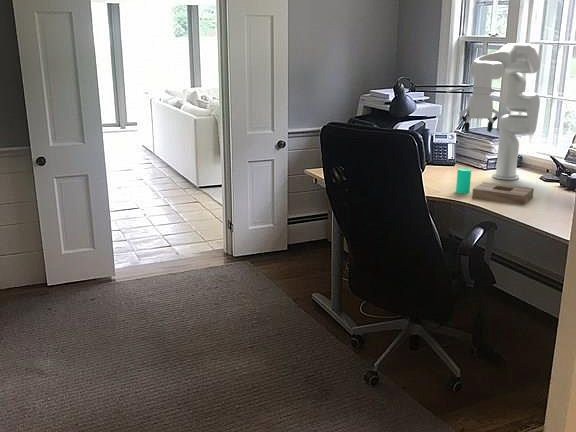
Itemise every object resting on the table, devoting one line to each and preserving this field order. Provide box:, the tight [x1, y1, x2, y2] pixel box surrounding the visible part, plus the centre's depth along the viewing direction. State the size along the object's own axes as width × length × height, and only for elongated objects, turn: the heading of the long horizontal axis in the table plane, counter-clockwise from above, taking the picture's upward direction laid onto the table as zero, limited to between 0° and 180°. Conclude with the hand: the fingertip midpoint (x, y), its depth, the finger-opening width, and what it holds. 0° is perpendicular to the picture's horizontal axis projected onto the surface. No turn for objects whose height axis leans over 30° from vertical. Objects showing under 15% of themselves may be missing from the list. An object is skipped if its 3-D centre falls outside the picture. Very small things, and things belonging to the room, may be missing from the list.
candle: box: [455, 166, 472, 194], centre depth 278 cm, size 6×6×12 cm
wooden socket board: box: [471, 181, 535, 206], centre depth 270 cm, size 16×22×4 cm
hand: (478, 131), depth 266 cm, fingers open, 9 cm apart
